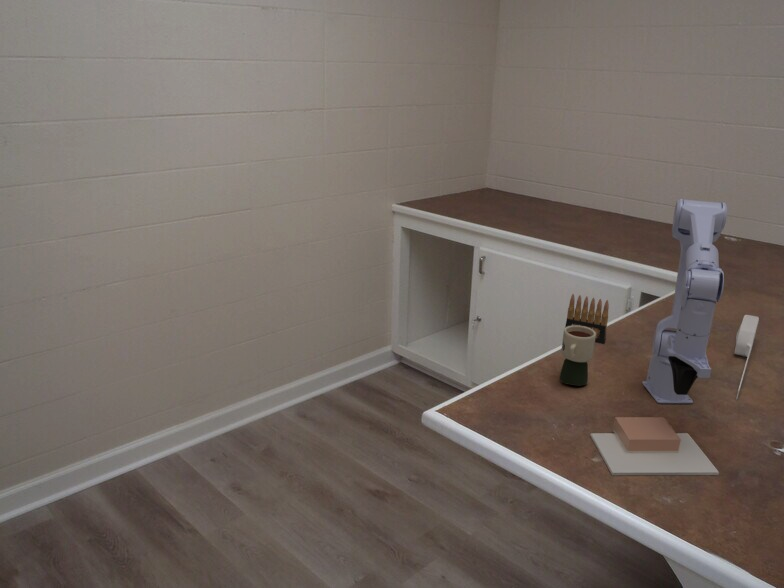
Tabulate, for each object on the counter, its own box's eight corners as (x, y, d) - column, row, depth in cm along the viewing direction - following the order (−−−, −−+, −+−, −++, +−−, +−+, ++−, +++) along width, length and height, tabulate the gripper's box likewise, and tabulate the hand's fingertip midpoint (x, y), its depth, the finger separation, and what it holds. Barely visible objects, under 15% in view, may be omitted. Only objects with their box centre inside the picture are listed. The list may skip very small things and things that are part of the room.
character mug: (565, 369, 163) (572, 319, 158) (595, 376, 159) (602, 326, 155) (550, 387, 154) (556, 335, 149) (581, 396, 151) (588, 343, 146)
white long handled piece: (715, 405, 154) (734, 410, 152) (721, 375, 150) (741, 380, 148) (737, 335, 183) (754, 338, 181) (743, 308, 179) (760, 312, 177)
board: (590, 435, 136) (590, 433, 135) (687, 435, 136) (687, 433, 136) (612, 475, 124) (612, 472, 123) (718, 475, 124) (719, 472, 124)
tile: (615, 417, 136) (629, 439, 128) (663, 417, 136) (680, 439, 129) (612, 429, 137) (627, 452, 129) (661, 429, 137) (678, 452, 130)
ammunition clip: (605, 341, 178) (611, 299, 174) (604, 344, 177) (610, 301, 172) (565, 333, 183) (570, 292, 178) (563, 335, 181) (568, 294, 177)
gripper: (657, 314, 134) (646, 375, 139) (688, 346, 120) (675, 412, 125) (692, 315, 134) (680, 375, 139) (727, 347, 120) (712, 412, 125)
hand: (680, 393), depth 132 cm, fingers closed
